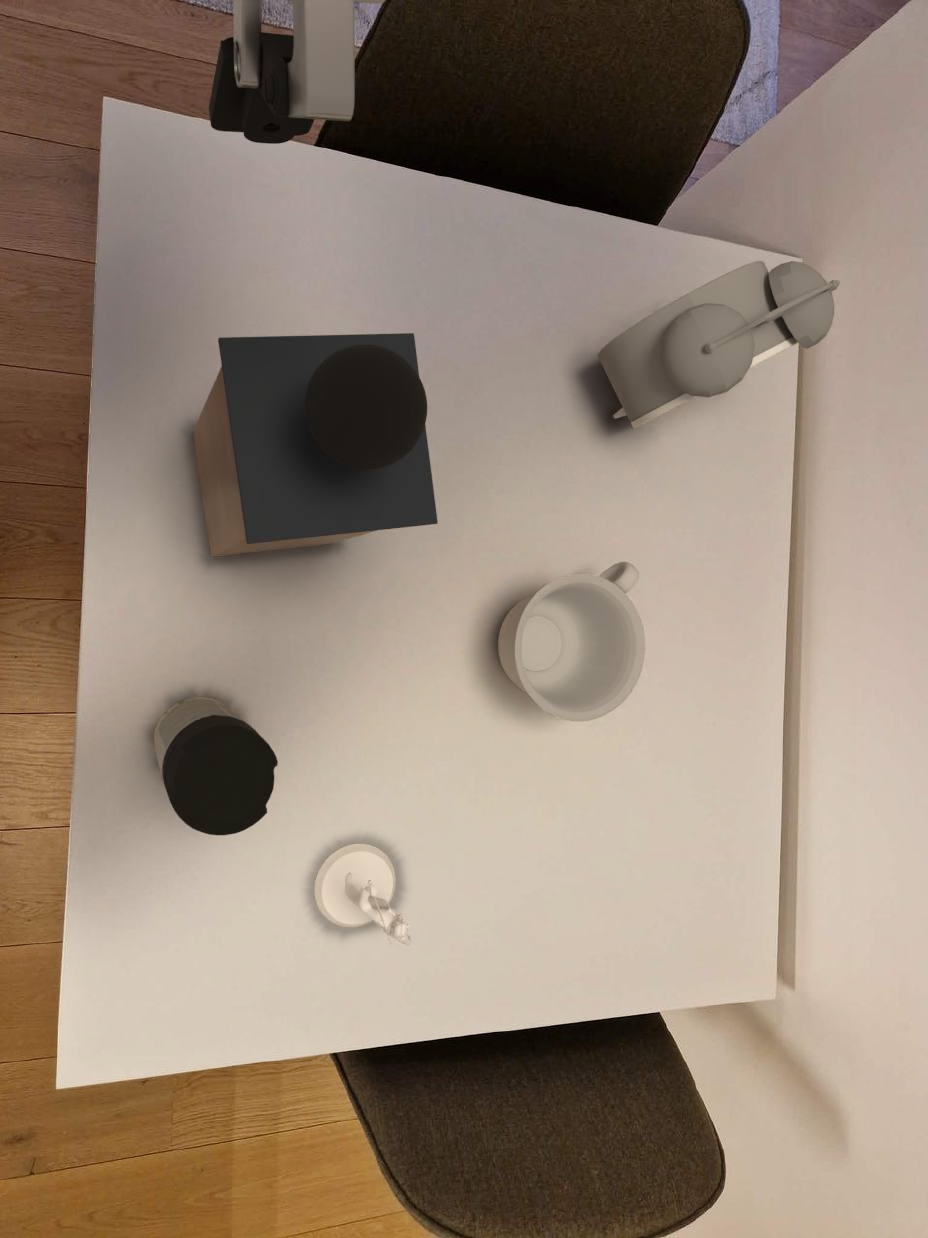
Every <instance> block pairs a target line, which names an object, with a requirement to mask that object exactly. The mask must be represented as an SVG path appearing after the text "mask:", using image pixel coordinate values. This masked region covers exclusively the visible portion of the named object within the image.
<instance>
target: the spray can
mask: <svg viewBox="0 0 928 1238" xmlns="http://www.w3.org/2000/svg"><path fill="white" fill-rule="evenodd" d="M153 748H154V752H155V753H154V754H155V757H156V759H157V764H158V767H159V771H160V775H161V778H162V782H163V785H164V788H165V791H166V795H167V798H168V800H169V803H170V804H171V807H172V809H173V811H174V812H175V814H176V815H177V816H178V818H179V819H180V820H181V821H182V822H183V823H184V824H185V825H187V826H188V827H190V828H191V829H193V830H195V831H197V832H200V833H203V834H206V835H210V836H230V835H235V834H238V833H241V832H244V831H246V830H247V829H249V828H251V827H253V826H254V825H256V824H257V823H258V822H259V821H261V820H262V819H263V818H264V817H265V816H266V814H268V808H267V804H268V802H269V800H270V798H271V796H272V794H273V791H274V786H275V768H276V767H277V766H278V765H279V762H278V758H277V755H276V753H275V751H274V750H273V749H272V747H271V745H270V744H269V743H268V742H267V741H266V740H265V739H264V737H262V736H261V734H260V733H259V732H257V730H256V729H255V728H254V727H252V726H251V725H250V724H249V723H247V722H246V721H245V720H244V719H243V718H242V717H240V716H239V715H238V714H237V713H236V712H234V710H232V709H231V708H230V707H228V706H227V705H226V704H225V703H223V702H222V701H219V700H217V699H215V698H212V697H207V696H192V697H187V698H184V699H181V700H179V701H177V702H176V703H174V704H172V705H171V706H170V707H169V708H168V709H166V710H165V712H163V714H162V715H161V717H160V718H159V719H158V722H157V723H156V727H155V729H154V732H153Z"/></svg>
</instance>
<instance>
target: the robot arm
mask: <svg viewBox="0 0 928 1238" xmlns="http://www.w3.org/2000/svg"><path fill="white" fill-rule="evenodd" d="M385 2H386V0H292V22H293V23H292V25H293V35H292V34H283V33H275V32H273V33H272V32H263V31H262V21H263V20H262V16H263V13H262V12H263V0H233V28H232V29H233V35H232V36H230V37H227V38H224V40H222V39H221V40H220V44H219V50H218V55H217V60H216V66H215V71H214V76H213V83H212V87H211V92H210V98H209V103H208V114H209V122H210V127H211V128H212V129H213V130H215V131H219V132H228V133H229V132H230V133H242V134H243V137H244V138H245V139H246V140H247V141H249V142H252V143H256V144H257V143H258V144H270V145H272V144H273V145H278V144H285V143H287V142H290V141H291V140H292V139H294V137H295V136H296V137H297V136H298V137H299V136H300V137H301V136H304V135H307V134H308V133H310V132H311V129H312V126H313V124H314V122H315V120H324V121H341V122H350V121H352V118H353V116H354V111H355V100H356V98H355V97H356V96H355V92H356V91H355V89H356V88H355V87H356V86H355V85H356V81H355V79H356V77H355V76H356V75H355V74H356V73H355V71H356V70H355V69H356V68H355V67H356V66H355V65H356V64H355V61H356V60H355V59H356V58H355V54H356V52H355V51H356V50H355V43H356V42H355V39H356V38H355V30H356V29H355V28H356V27H355V20H356V19H355V15H356V14H355V8H356V7H355V3H357V4H383V3H385Z"/></svg>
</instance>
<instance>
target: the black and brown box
mask: <svg viewBox="0 0 928 1238" xmlns="http://www.w3.org/2000/svg"><path fill="white" fill-rule="evenodd" d="M415 338H416V337H415V333H414V332H407V333H406V332H405V333H365V334H363V333H361V334H359V333H358V334H323V335H322V334H321V335H320V334H319V335H316V334H315V335H277V336H276V335H275V336H274V335H273V336H230V337H226V336H225V337H224V336H223V337H218V340H217V342H218V350H219V356H220V363H221V367H222V371H223V378H224V385H225V393H226V400H227V407H228V414H229V421H230V428H231V435H232V443H233V450H234V457H235V464H236V471H237V478H238V485H239V493H240V500H241V507H242V514H243V521H244V528H245V535H246V543H247V544H253V543H263V542H272V541H281V540H291V539H300V538H310V537H319V536H328V535H338V534H347V533H356V532H366V531H374V532H376V531H375V530H377V531H384V530H393V529H403V528H411V527H422V526H430V525H437V524H439V522H438V521H439V520H438V514H437V506H436V498H435V490H434V482H433V475H432V467H431V459H430V451H429V449H430V448H429V442H428V434H427V426H426V424H425V427H424V430H423V433H422V435H421V437H420V439H419V440H418V442H417V444H416V445H415V446H414V448H413V449H412V450H411V451H410V452H409V453H408V454H407V455H406V456H404V457H403V458H402V459H400V460H399V461H397V462H395V463H393V464H391V465H389V466H385V467H382V468H378V469H357V468H353V467H349V466H346V465H343V464H341V463H339V462H337V461H336V460H334V459H333V458H331V457H330V456H329V455H327V454H326V453H325V452H324V451H323V450H322V449H321V448H320V446H319V445H318V444H317V442H316V441H315V440H314V438H313V436H312V434H311V432H310V430H309V427H308V424H307V420H306V415H305V397H306V391H307V387H308V384H309V381H310V379H311V377H312V375H313V373H314V372H315V370H316V368H317V367H318V366H319V365H320V364H321V363H322V362H323V361H324V360H325V359H326V358H328V357H329V356H330V355H331V354H333V353H334V352H336V351H338V350H340V349H343V348H345V347H348V346H352V345H377V346H381V347H384V348H387V349H389V350H392V351H393V352H395V353H397V354H399V355H400V356H401V357H403V358H404V359H405V360H406V361H407V362H408V363H409V364H410V365H411V366H412V367H413V369H414V370H415V371H416V373H417V374H418V376H419V377H420V371H419V363H418V356H417V347H416V346H417V345H416V339H415Z"/></svg>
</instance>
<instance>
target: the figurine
mask: <svg viewBox="0 0 928 1238" xmlns="http://www.w3.org/2000/svg"><path fill="white" fill-rule="evenodd" d="M396 880H397V879H396V872H395V868H394V865H393V864H392V861H391V859H390V858H389V857H388V856H387V854H386V853H385V852H384V851H382V849H380V848H378V847H376V846H374V845H371V844H366V843H352V844H347V845H345V846H343V847H340V848H338V849H336V850H335V851H334V852H332V853H331V854H330V855H329V856H328V857H327V858H326V859H325V860H324V861H323V863H322V864H321V865H320V868H319V869H318V871H317V874H316V876H315V880H314V888H313V891H314V893H313V894H314V899H315V902H316V906H317V908H318V909H319V912H320V913H321V914H322V915H323V916H324V918H325V919H326V920H328V921H329V922H331V923H332V924H334V925H337V926H339V927H344V928H357V927H361V926H365V925H367V924H369V923H372V922H373V923H374V925H376V926H378V927H380V929H381V930H382V931H383V932H384V934H385V935H386V936H387V940H388V942H389V945H390V948H391V950H392V951H393V950H394V948H393V945H392V941H391V938H392V939H395V940H396V941H397V942H399V943H401V944H404V945H406V946H407V947H409V946H410V945H411V944H412V938H411V936H410V935H409V933H408V929H409V928H410V926H411V925H410V924H409V923H407V922H406V921H405V918H404V916H403V913H401V912H400V911H397V910H396V909H394V908H392V907H391V905H390V903H391V901H392V899H393V897H394V894H395V890H396V883H397V881H396ZM399 912H400V913H399ZM390 937H391V938H390Z"/></svg>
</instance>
